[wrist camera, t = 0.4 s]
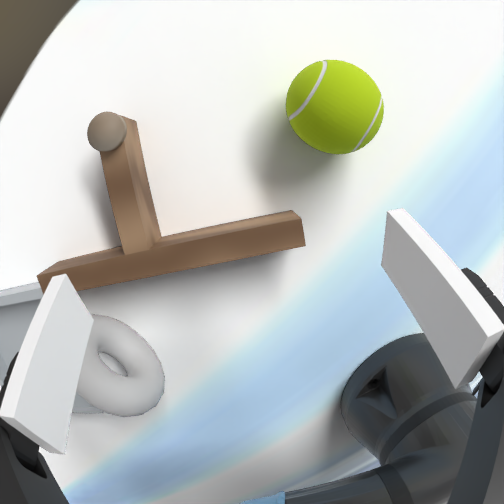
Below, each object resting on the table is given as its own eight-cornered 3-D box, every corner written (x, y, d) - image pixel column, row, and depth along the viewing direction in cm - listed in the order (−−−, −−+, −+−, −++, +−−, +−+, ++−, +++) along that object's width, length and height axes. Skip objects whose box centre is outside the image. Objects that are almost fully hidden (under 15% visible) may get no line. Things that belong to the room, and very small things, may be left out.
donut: (180, 353, 29) (161, 427, 20) (161, 373, 30) (139, 445, 20) (96, 290, 27) (45, 344, 18) (81, 314, 28) (32, 370, 18)
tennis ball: (265, 129, 24) (275, 117, 17) (302, 59, 23) (324, 28, 16) (340, 169, 25) (374, 173, 19) (374, 101, 24) (414, 86, 17)
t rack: (295, 233, 27) (307, 248, 22) (64, 281, 27) (40, 301, 22) (267, 86, 23) (274, 70, 19) (32, 156, 23) (1, 157, 19)
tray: (109, 399, 31) (102, 413, 28) (22, 397, 31) (14, 408, 29) (55, 278, 27) (42, 287, 24) (-27, 297, 27) (-39, 305, 24)
